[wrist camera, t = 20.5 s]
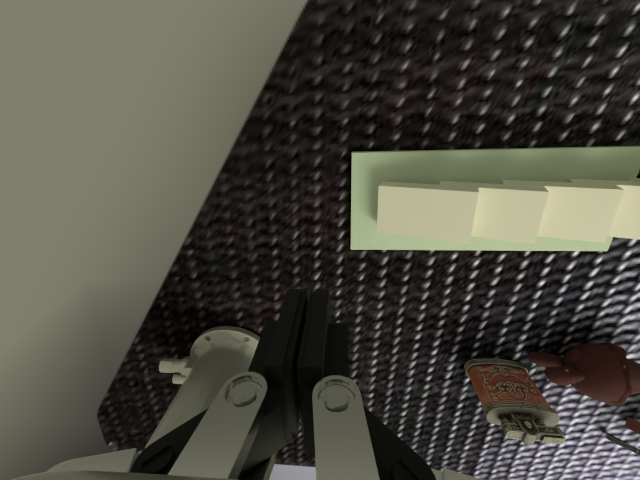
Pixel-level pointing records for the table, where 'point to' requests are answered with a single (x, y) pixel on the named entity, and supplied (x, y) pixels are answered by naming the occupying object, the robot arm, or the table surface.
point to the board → (478, 169)
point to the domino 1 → (427, 210)
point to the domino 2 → (507, 211)
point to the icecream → (593, 371)
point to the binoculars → (632, 425)
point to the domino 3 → (577, 209)
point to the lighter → (513, 401)
